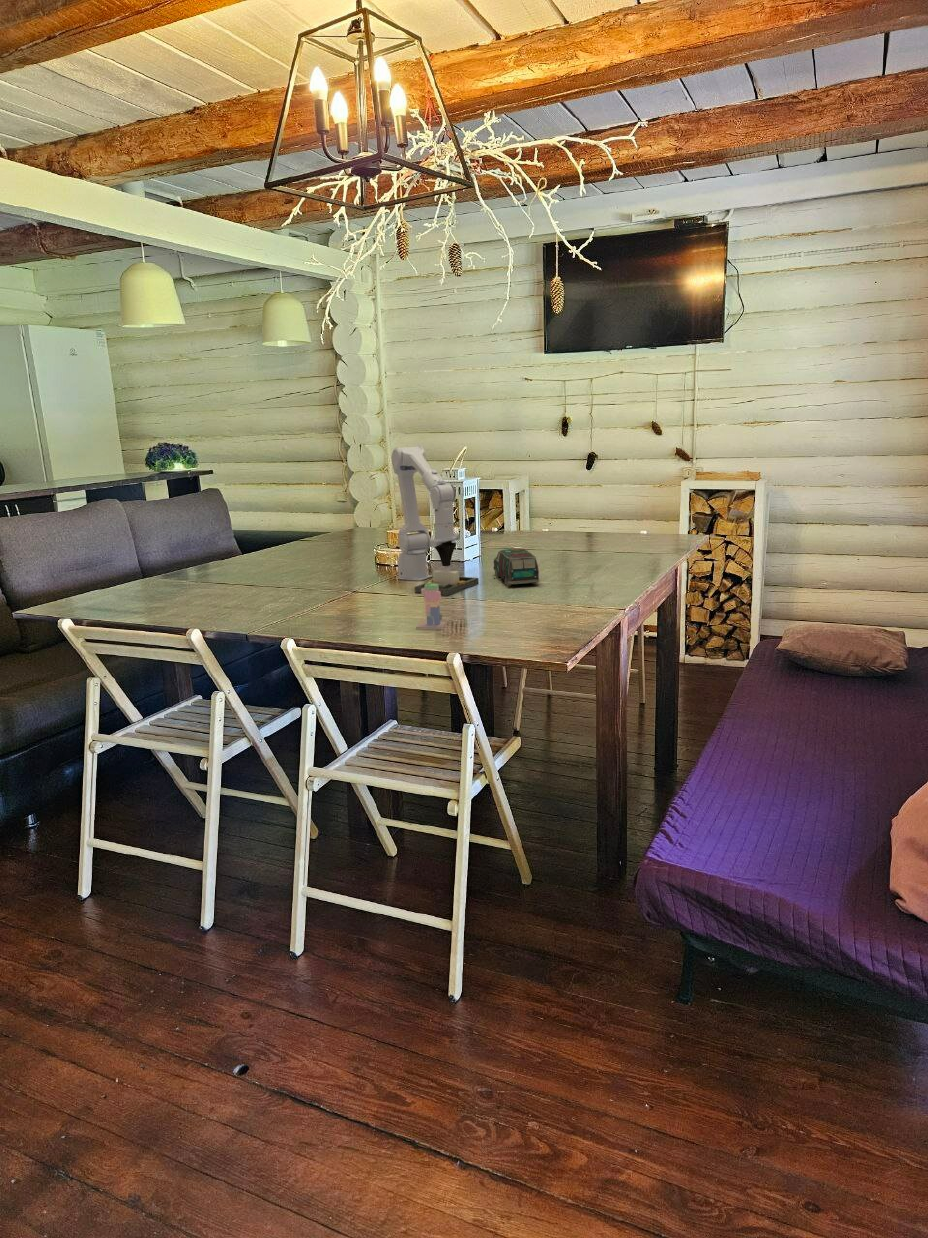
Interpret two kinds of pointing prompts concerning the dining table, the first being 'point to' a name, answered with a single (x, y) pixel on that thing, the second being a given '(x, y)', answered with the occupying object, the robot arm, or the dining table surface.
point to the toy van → (516, 567)
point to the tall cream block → (446, 576)
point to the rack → (451, 586)
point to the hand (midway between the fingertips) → (446, 565)
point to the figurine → (432, 608)
